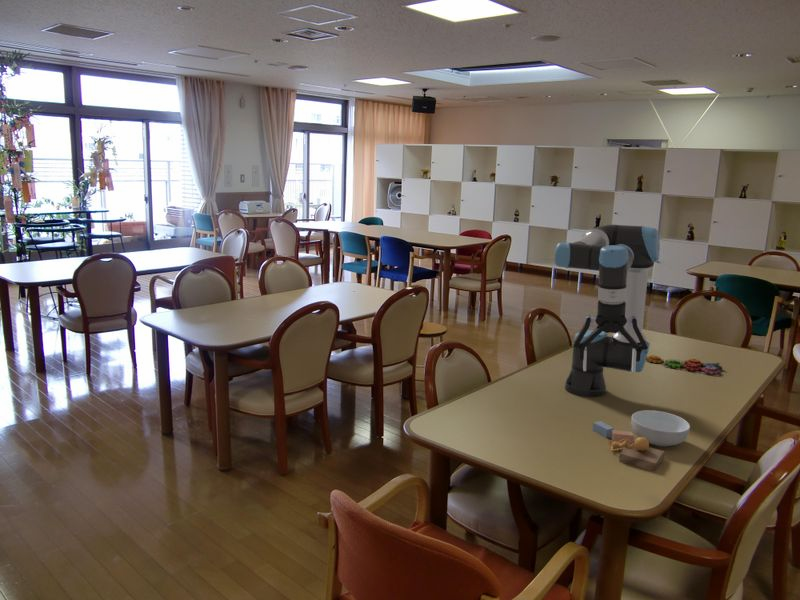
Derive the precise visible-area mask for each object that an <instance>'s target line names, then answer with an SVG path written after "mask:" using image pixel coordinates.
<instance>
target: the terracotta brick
mask: <svg viewBox="0 0 800 600" xmlns="http://www.w3.org/2000/svg"><path fill="white" fill-rule="evenodd" d="M627 437H630V438H628V440H629V441H630V442H631V443H634V437H635V435H634V434H633V432H632V431H627V430H626V431H625V430H617V429H616V430H615V429H614V430H612V436H611V437H610V440H612V441H613V442H615V441H616V442H618V441H620V440H623V439H625V438H627ZM626 440H627V439H626ZM624 441H625V440H624ZM624 441H622V442H624ZM622 442H620V443H622ZM628 443H629V442H628Z"/></svg>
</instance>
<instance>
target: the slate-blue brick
mask: <svg viewBox="0 0 800 600" xmlns="http://www.w3.org/2000/svg"><path fill="white" fill-rule="evenodd" d="M612 430H615V428H614V427H613V426H611V425H608V424H607V423H605V422H604V421H601V420H600V421H599V420H598V421H594V422H593V424H592V432H594V433H596V434H598V435H600V436H602V437H603V438H606V439H607V438H611V436H612Z"/></svg>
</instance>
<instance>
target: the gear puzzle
mask: <svg viewBox="0 0 800 600" xmlns="http://www.w3.org/2000/svg"><path fill="white" fill-rule="evenodd" d="M646 361H648V363H654V364H662V366H664V368H666V369H671V368H672V369H675V370H677V371H678V370H679V371H683V372H693V373H695V374H700V375H701V374H702V375H706V376H707V375H709V376H710V375H711V376H712V377H718V378H719V377H721V373H722V370H723V366H722V365H720V362H719V361H716V362H712V363H711V362H707V363H706V362H705V363H704V362H702V361H701V360H699V359H695V358H689V359H688V360H681V359H678V358H677V359H676V358H675V359H674V358H668V359H665V360H664V358H661V357H660V356H658V355H656V354H655V355H653V354H652V355H649V356H647V357H646Z"/></svg>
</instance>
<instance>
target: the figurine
mask: <svg viewBox="0 0 800 600" xmlns="http://www.w3.org/2000/svg"><path fill="white" fill-rule="evenodd" d="M628 438H630V437H627V438H625V439H623V440H620V441H618V442H616V441H615V442H613V441H612V439H609V440H608V444H609V446H610V449H611V452H615V451H620V448H621V449H622V448H625V447H626V446H628V447H633V446H635V447H636V448H637V449H638V450H640V451H645V450H647V449H648V447H649V446H650V443H649V442H648V440H647V439H646V438H644V437H639V436H638V437H637V438H636V439H635V440H634V441H633V443H631V442H630V441H629V440H628ZM626 439H627V440H626ZM624 440H625V441H624ZM622 441H624V442H622ZM620 442H622V443H620ZM628 442H629V444H630V445H631V446H630V445H629V444H628Z"/></svg>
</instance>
